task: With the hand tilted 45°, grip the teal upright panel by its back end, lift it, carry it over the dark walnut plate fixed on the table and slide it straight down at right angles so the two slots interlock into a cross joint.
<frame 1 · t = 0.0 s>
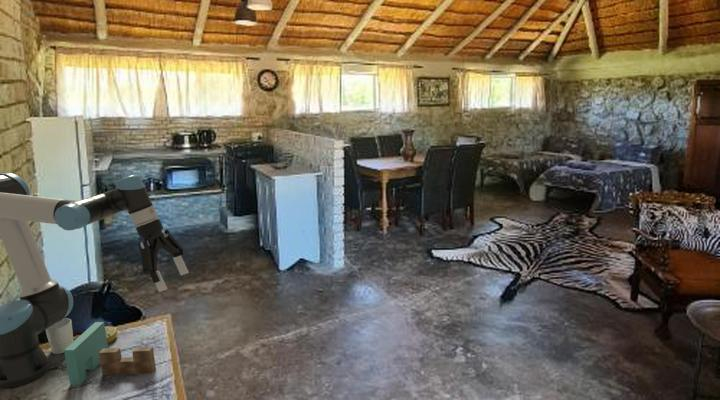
hand: (174, 282, 151), 28 cm above the table, tool tilted 20°, fingers open, 13 cm apart
white cup: (62, 349, 165), on the table
walnut slotted plate: (129, 371, 150), on the table
teal upright panel: (90, 368, 153), on the table
decorated donut: (101, 341, 171), on the table
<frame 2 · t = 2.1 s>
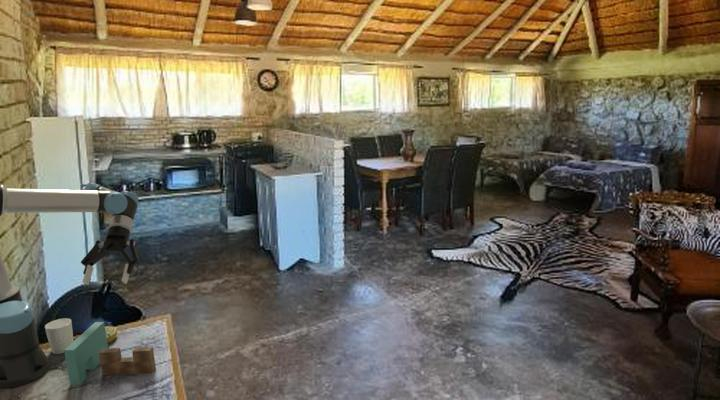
hand: (104, 283, 163), 24 cm above the table, tool tilted 45°, fingers open, 13 cm apart
nothing on the table moved.
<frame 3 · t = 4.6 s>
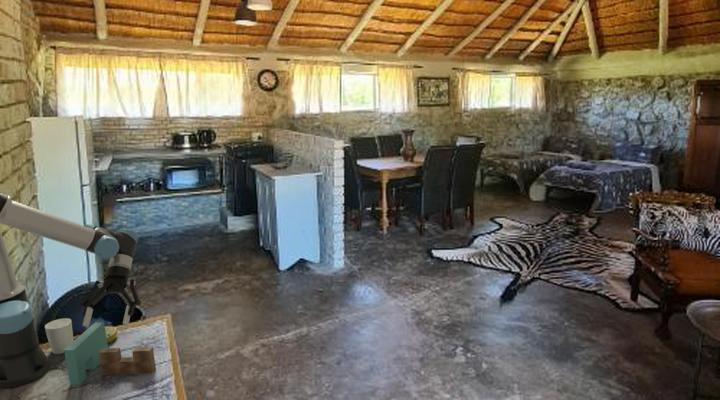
hand: (105, 325, 160), 10 cm above the table, tool tilted 45°, fingers open, 13 cm apart
nothing on the table moved.
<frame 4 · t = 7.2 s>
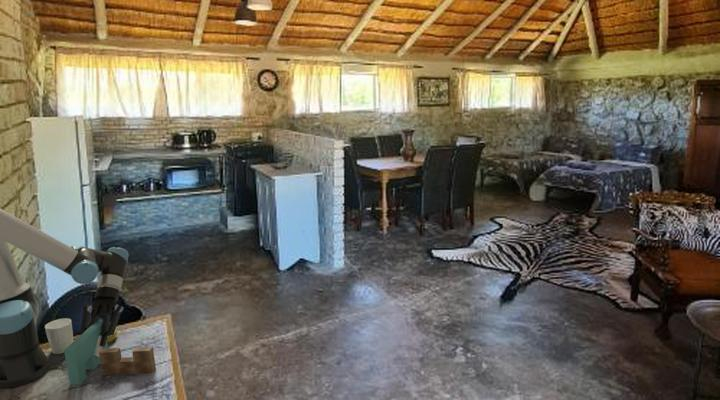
hand: (90, 356, 153), 4 cm above the table, tool tilted 45°, fingers closed on teal upright panel, 3 cm apart
teal upright panel: (90, 368, 153), on the table, touching gripper
everything else where it was.
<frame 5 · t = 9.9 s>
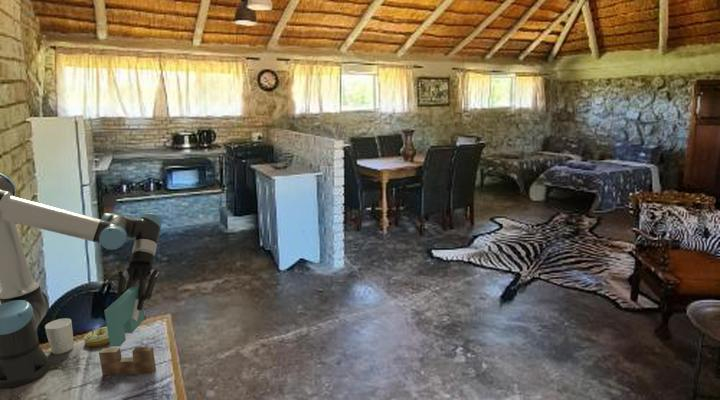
hand: (128, 319, 151), 16 cm above the table, tool tilted 45°, fingers closed on teal upright panel, 3 cm apart
teal upright panel: (128, 331, 150), point 13 cm above the table, touching gripper
everything else where it was.
when the fingers open (4 cm above the table, at t = 12.8 s): teal upright panel stays where it is, on the table.
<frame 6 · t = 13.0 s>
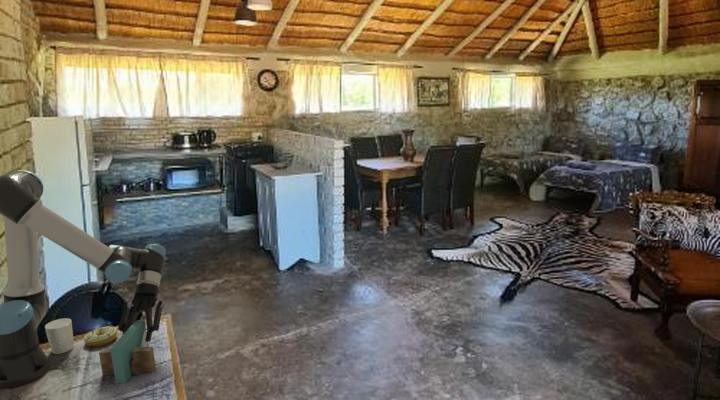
hand: (133, 351, 153), 5 cm above the table, tool tilted 45°, fingers open, 5 cm apart
teal upright panel: (133, 366, 153), on the table
everything else where it was.
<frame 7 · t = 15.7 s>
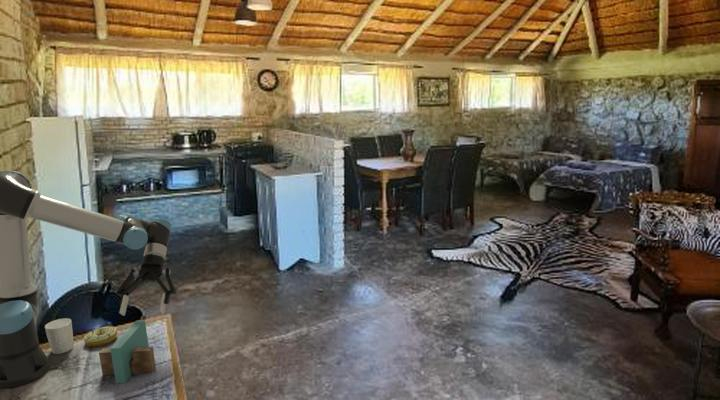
hand: (141, 313, 160), 14 cm above the table, tool tilted 45°, fingers open, 13 cm apart
nothing on the table moved.
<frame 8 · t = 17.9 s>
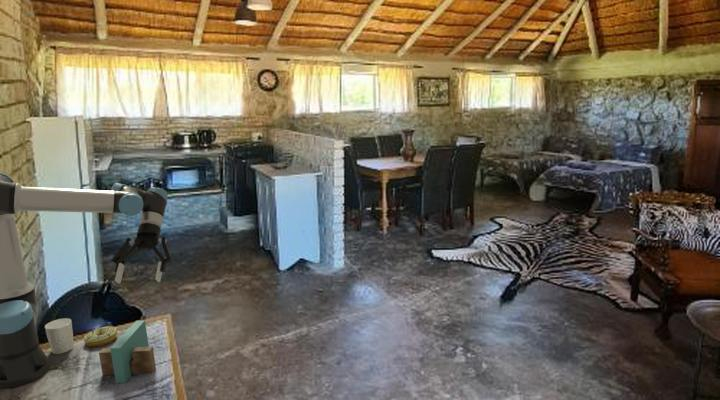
hand: (137, 281, 158), 26 cm above the table, tool tilted 45°, fingers open, 13 cm apart
nothing on the table moved.
at the end: teal upright panel 0.1 cm from the target spot on the table beside the walnut slotted plate, on the table; teal upright panel tilted 0°; the gripper is holding nothing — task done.
